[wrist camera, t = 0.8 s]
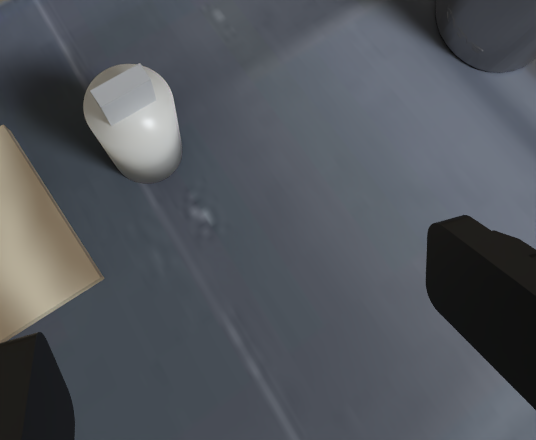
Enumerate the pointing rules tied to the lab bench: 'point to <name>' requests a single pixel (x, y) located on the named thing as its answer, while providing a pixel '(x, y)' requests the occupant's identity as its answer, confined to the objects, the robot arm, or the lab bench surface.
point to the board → (34, 246)
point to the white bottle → (135, 121)
